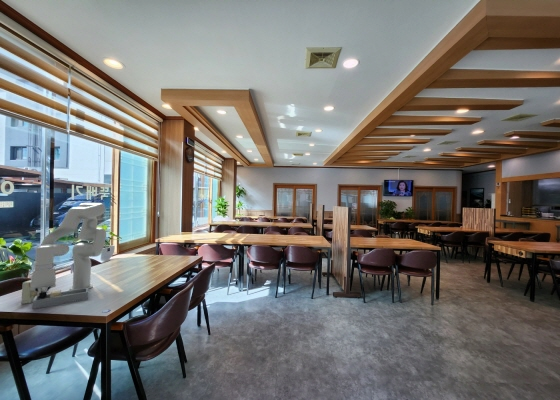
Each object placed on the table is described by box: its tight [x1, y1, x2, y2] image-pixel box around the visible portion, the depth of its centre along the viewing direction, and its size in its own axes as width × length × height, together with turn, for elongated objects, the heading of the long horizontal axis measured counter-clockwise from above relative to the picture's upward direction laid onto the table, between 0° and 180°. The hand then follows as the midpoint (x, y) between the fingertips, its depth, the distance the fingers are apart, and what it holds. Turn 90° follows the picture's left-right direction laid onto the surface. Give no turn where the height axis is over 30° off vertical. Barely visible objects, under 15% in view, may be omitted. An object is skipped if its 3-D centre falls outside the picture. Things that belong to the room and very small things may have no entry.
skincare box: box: [20, 279, 38, 305], centre depth 143 cm, size 6×4×12 cm
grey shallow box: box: [31, 288, 89, 310], centre depth 144 cm, size 10×24×4 cm, turn 130°
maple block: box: [49, 289, 62, 298], centre depth 143 cm, size 4×4×4 cm
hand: (42, 298), depth 139 cm, fingers closed
